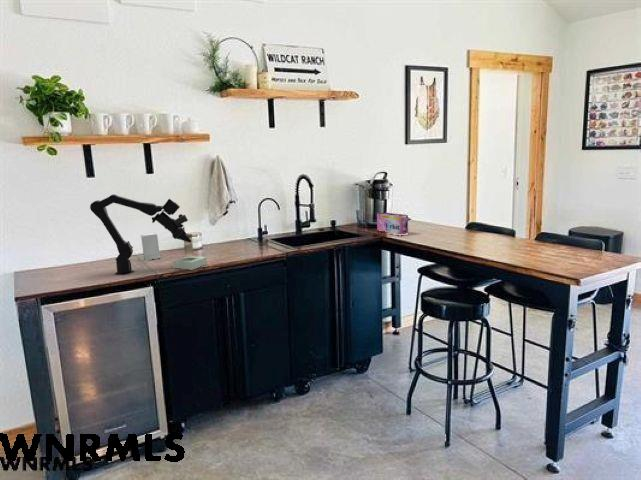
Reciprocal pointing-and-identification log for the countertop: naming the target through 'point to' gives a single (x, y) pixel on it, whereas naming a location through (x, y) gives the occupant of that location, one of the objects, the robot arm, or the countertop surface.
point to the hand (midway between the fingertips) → (190, 241)
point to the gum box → (392, 223)
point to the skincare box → (150, 246)
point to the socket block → (189, 262)
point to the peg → (188, 245)
